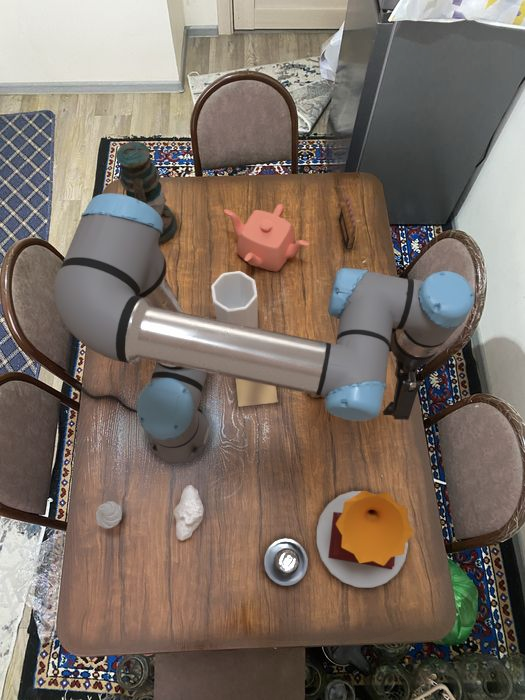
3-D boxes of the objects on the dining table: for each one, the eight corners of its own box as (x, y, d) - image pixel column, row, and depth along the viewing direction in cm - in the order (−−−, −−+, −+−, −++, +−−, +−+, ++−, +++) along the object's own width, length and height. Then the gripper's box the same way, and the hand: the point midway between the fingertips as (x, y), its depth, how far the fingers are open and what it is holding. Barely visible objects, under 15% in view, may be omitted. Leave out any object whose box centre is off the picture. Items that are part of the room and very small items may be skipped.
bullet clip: (338, 219, 152) (344, 191, 141) (344, 218, 152) (351, 190, 141) (345, 249, 148) (352, 223, 137) (352, 248, 148) (359, 222, 137)
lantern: (179, 253, 147) (160, 180, 120) (128, 257, 147) (97, 185, 119) (175, 198, 155) (157, 117, 127) (127, 202, 154) (98, 122, 127)
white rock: (188, 542, 119) (214, 544, 111) (158, 538, 115) (184, 539, 107) (196, 489, 124) (222, 486, 115) (168, 483, 120) (193, 480, 111)
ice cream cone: (120, 501, 121) (102, 492, 107) (138, 517, 119) (122, 510, 105) (103, 520, 119) (82, 514, 105) (120, 537, 118) (102, 533, 104)
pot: (242, 284, 143) (241, 260, 132) (226, 234, 150) (223, 206, 138) (306, 268, 146) (310, 242, 134) (287, 219, 152) (289, 190, 141)
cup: (211, 338, 137) (204, 306, 120) (222, 302, 141) (217, 265, 124) (252, 348, 136) (251, 316, 119) (262, 311, 140) (262, 275, 123)
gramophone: (321, 484, 122) (335, 465, 99) (408, 500, 121) (443, 483, 98) (309, 578, 114) (321, 580, 91) (402, 595, 113) (439, 602, 90)
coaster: (238, 407, 130) (238, 406, 129) (234, 370, 134) (234, 369, 133) (277, 402, 130) (277, 402, 130) (272, 365, 134) (272, 365, 134)
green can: (300, 557, 116) (304, 556, 105) (289, 579, 114) (292, 580, 103) (280, 545, 117) (282, 543, 106) (269, 566, 115) (270, 566, 104)
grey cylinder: (263, 583, 114) (263, 584, 108) (265, 539, 118) (265, 537, 112) (304, 586, 114) (307, 586, 108) (305, 541, 117) (308, 540, 112)
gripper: (449, 412, 80) (411, 442, 99) (433, 272, 90) (401, 325, 109) (401, 410, 80) (372, 441, 99) (390, 271, 90) (366, 324, 109)
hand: (387, 380), depth 104 cm, fingers open, 13 cm apart
